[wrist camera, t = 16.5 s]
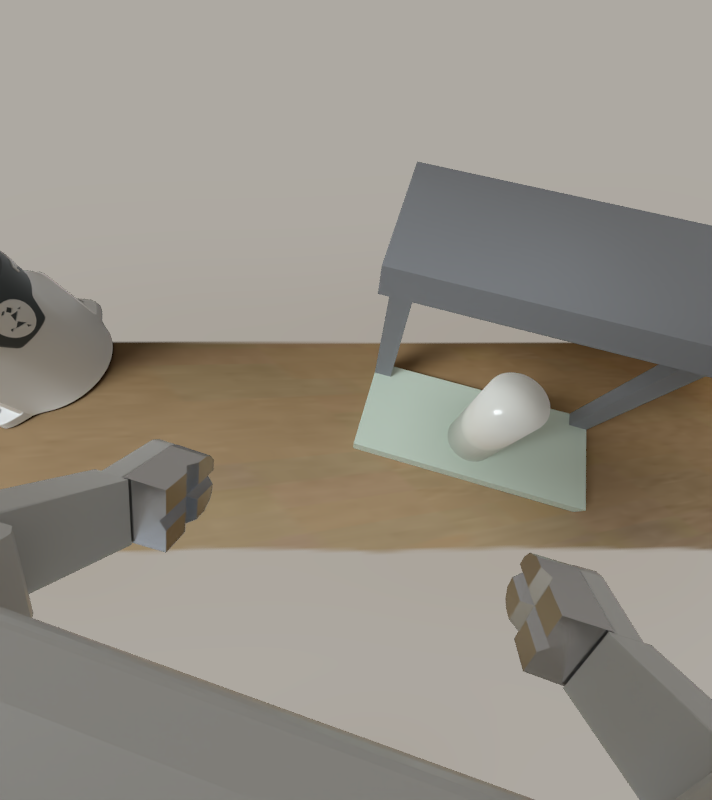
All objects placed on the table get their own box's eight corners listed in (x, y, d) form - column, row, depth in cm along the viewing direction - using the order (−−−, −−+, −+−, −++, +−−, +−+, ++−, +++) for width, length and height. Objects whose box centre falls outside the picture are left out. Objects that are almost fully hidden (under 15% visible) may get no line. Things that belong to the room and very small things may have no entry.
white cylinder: (443, 454, 37) (481, 421, 27) (451, 410, 39) (489, 365, 29) (492, 467, 37) (548, 439, 27) (497, 423, 39) (551, 381, 29)
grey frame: (353, 447, 39) (368, 304, 15) (376, 369, 43) (417, 161, 19) (573, 511, 37) (991, 463, 13) (575, 423, 41) (894, 265, 17)
